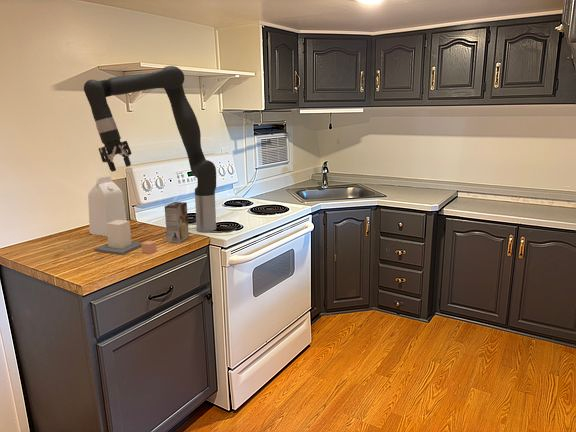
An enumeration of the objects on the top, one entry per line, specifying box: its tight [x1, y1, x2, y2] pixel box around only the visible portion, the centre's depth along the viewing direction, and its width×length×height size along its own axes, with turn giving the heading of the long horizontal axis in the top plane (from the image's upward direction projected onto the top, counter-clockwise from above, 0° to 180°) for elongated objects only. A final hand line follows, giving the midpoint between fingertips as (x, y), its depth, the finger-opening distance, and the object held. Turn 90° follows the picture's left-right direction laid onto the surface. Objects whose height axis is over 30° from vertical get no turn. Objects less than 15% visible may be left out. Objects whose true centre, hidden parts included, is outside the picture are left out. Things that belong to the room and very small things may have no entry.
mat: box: [94, 240, 145, 256], centre depth 183 cm, size 14×14×1 cm
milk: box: [87, 175, 128, 237], centre depth 203 cm, size 12×12×26 cm
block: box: [141, 240, 157, 255], centre depth 178 cm, size 4×4×4 cm
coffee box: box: [164, 201, 190, 244], centre depth 193 cm, size 9×6×16 cm
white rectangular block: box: [106, 220, 133, 249], centre depth 182 cm, size 6×6×10 cm
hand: (121, 168), depth 184 cm, fingers open, 8 cm apart
